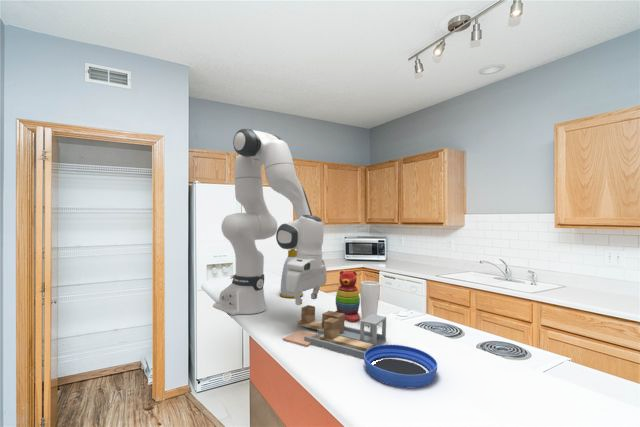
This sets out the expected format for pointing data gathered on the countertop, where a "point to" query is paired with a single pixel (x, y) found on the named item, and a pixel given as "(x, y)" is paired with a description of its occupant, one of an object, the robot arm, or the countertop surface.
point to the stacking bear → (348, 296)
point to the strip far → (311, 319)
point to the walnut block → (334, 315)
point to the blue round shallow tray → (400, 365)
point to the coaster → (299, 338)
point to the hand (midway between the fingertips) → (306, 301)
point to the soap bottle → (284, 293)
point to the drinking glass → (369, 298)
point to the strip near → (333, 336)
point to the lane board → (355, 336)
